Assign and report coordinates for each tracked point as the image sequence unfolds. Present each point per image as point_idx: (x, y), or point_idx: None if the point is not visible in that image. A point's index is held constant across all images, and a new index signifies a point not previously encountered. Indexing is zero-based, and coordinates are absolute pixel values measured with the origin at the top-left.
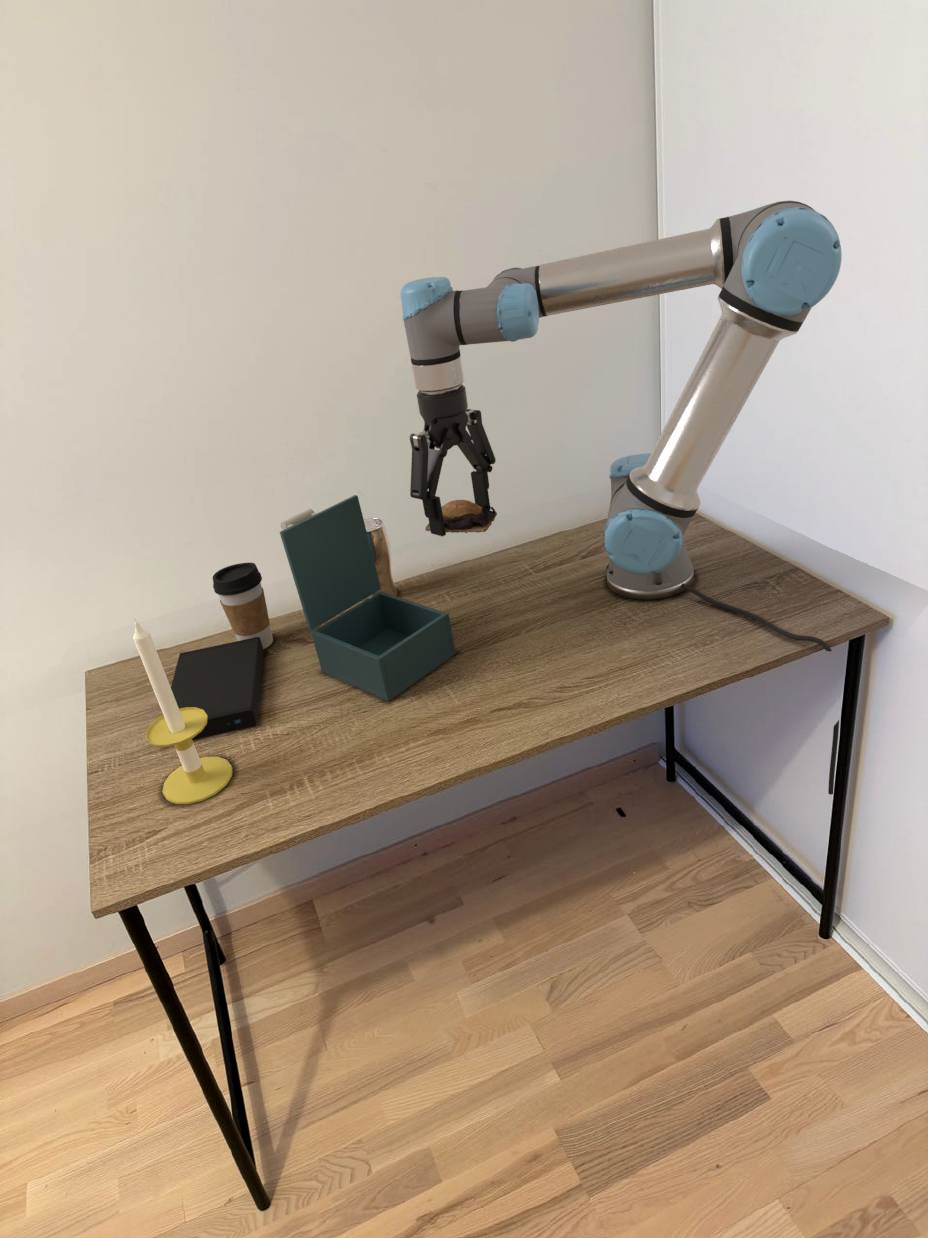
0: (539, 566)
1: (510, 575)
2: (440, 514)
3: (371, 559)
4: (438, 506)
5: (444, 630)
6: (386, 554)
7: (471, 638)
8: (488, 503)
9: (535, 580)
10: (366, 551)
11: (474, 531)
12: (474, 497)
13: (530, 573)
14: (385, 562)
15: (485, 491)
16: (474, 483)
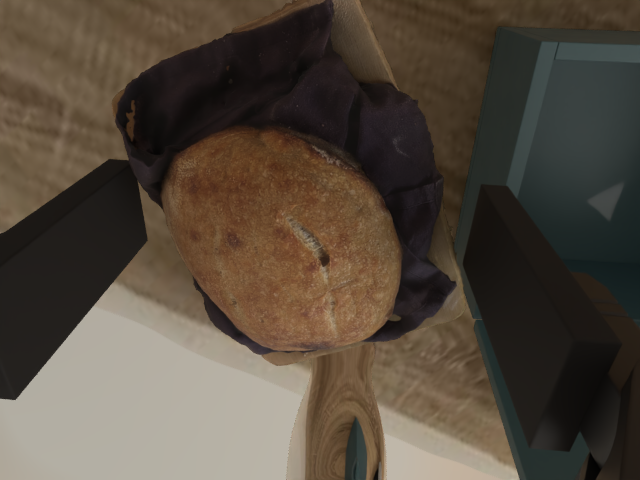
0: (34, 119)
1: (115, 159)
2: (543, 251)
3: (508, 396)
4: (573, 292)
5: (556, 36)
6: (333, 405)
7: (412, 41)
8: (98, 174)
9: (91, 80)
10: None
11: (382, 50)
12: (117, 274)
13: (74, 117)
14: (341, 391)
15: (61, 211)
16: (61, 318)
